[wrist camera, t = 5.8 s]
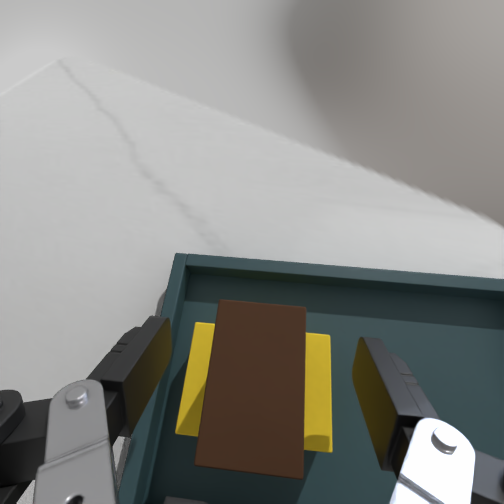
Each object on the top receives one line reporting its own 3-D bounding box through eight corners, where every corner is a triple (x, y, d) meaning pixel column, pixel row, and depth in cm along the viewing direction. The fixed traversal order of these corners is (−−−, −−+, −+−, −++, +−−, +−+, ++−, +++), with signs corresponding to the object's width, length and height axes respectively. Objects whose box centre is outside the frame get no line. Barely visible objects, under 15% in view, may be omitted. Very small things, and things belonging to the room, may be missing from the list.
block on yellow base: (187, 426, 15) (109, 470, 7) (203, 330, 17) (157, 284, 9) (321, 443, 14) (392, 508, 7) (321, 341, 16) (374, 303, 9)
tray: (125, 523, 14) (105, 544, 12) (182, 264, 19) (175, 252, 18) (606, 593, 12) (666, 629, 10) (513, 292, 18) (541, 281, 16)
